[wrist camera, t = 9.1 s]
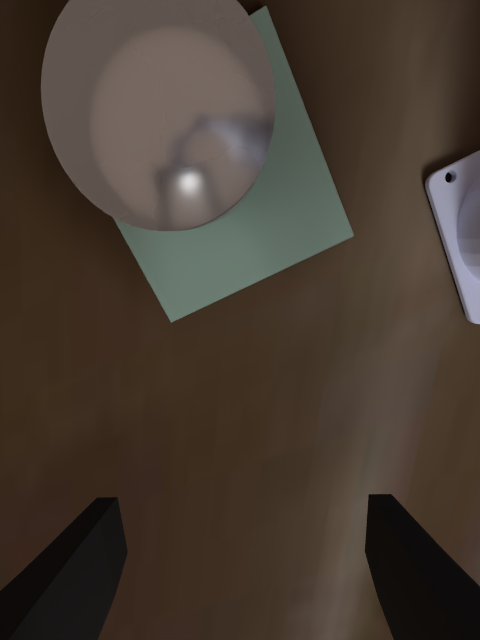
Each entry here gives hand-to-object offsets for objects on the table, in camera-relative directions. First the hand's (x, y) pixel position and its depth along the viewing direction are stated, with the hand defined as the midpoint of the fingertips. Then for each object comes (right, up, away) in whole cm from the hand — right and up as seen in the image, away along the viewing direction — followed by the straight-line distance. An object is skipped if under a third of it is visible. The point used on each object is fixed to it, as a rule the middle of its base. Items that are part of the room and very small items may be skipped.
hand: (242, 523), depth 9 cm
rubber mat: (-1, +12, +6) cm, 14 cm away
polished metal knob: (-2, +12, +5) cm, 14 cm away
